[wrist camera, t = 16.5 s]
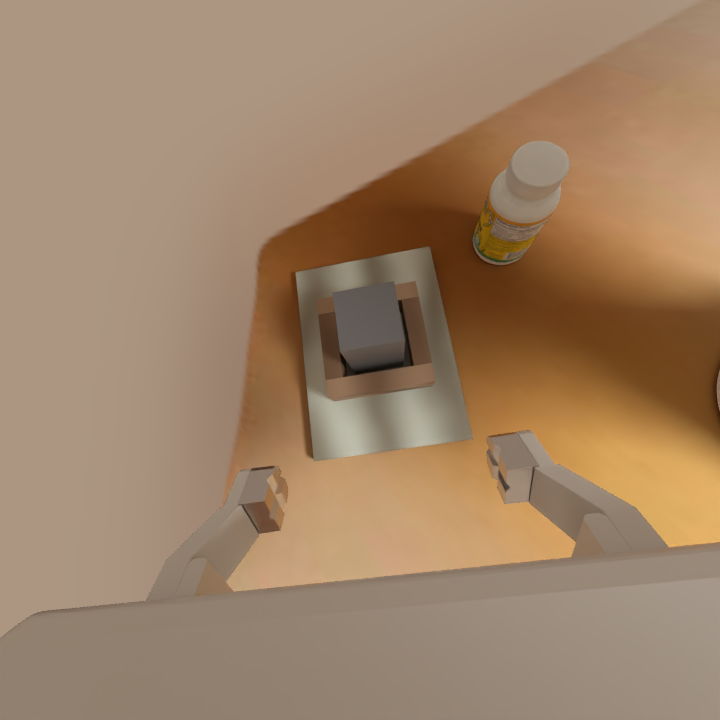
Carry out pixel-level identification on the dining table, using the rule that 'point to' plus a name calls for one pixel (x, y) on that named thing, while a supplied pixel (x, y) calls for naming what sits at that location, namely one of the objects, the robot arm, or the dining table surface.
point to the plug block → (370, 327)
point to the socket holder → (387, 386)
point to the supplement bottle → (520, 202)
